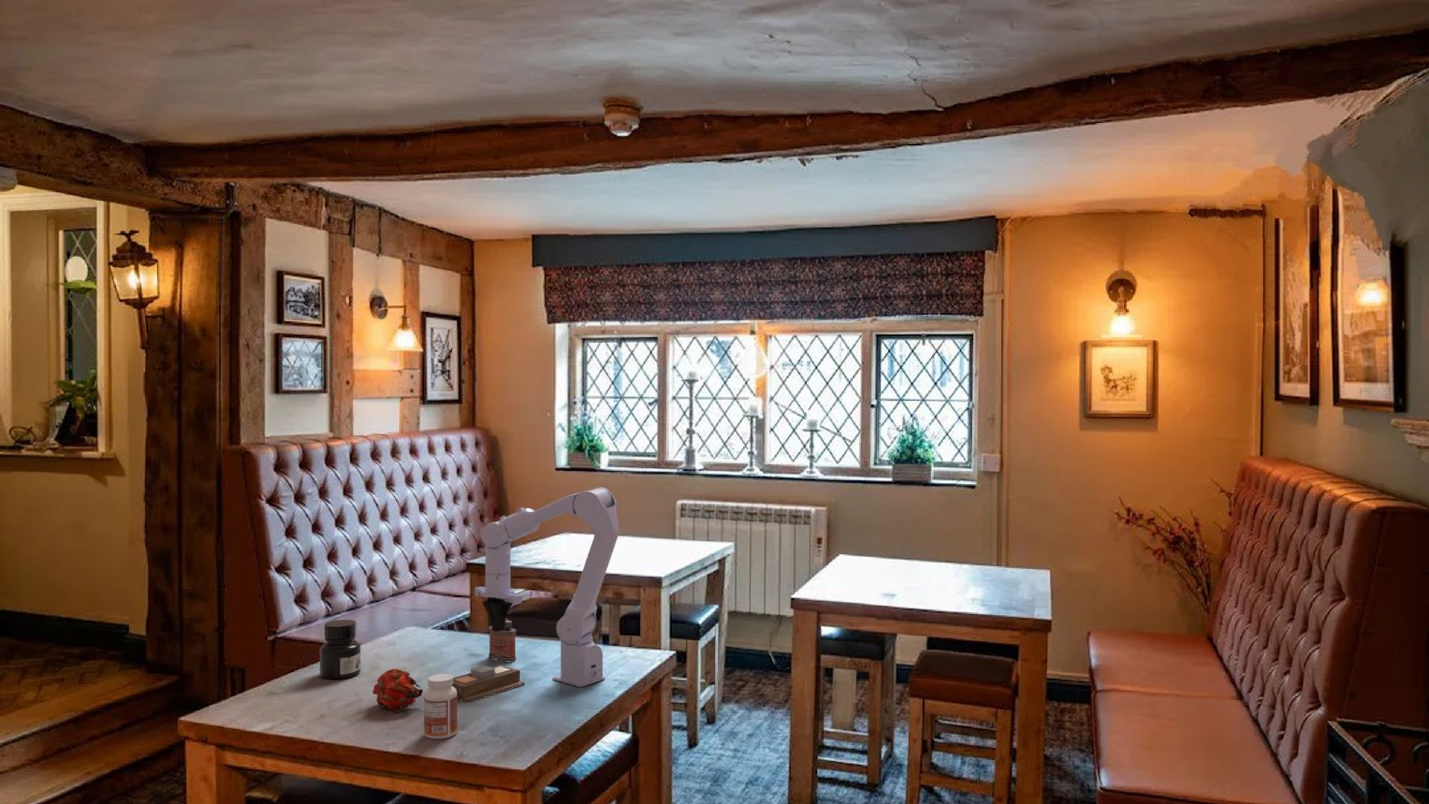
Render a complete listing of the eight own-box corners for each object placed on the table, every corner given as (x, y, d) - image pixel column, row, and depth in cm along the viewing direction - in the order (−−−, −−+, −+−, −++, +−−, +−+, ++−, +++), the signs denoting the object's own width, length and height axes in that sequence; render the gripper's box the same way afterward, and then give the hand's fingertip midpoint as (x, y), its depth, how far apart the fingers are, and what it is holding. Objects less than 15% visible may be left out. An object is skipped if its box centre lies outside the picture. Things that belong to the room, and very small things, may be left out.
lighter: (519, 659, 241) (519, 619, 240) (509, 663, 238) (509, 622, 238) (495, 654, 245) (495, 614, 245) (485, 658, 242) (485, 617, 242)
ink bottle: (351, 681, 223) (351, 628, 223) (312, 680, 223) (312, 628, 223) (367, 668, 233) (367, 618, 232) (330, 668, 233) (330, 617, 233)
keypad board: (524, 684, 221) (524, 671, 221) (468, 702, 209) (468, 688, 209) (495, 676, 227) (495, 663, 227) (440, 692, 215) (440, 679, 215)
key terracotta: (478, 689, 215) (478, 678, 215) (464, 693, 212) (464, 682, 212) (467, 686, 217) (467, 675, 217) (454, 690, 214) (454, 679, 214)
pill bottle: (446, 726, 194) (446, 670, 194) (463, 734, 190) (463, 677, 190) (417, 734, 190) (417, 677, 190) (435, 742, 186) (435, 684, 185)
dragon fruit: (383, 706, 210) (413, 728, 203) (355, 691, 205) (385, 713, 197) (406, 671, 213) (437, 690, 206) (379, 655, 208) (410, 675, 200)
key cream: (510, 680, 222) (510, 669, 222) (497, 683, 219) (497, 673, 219) (499, 676, 224) (499, 666, 224) (487, 680, 221) (487, 670, 221)
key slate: (494, 679, 218) (494, 668, 218) (481, 683, 215) (481, 672, 215) (484, 676, 220) (484, 665, 220) (471, 680, 218) (471, 669, 218)
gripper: (464, 571, 231) (464, 628, 231) (504, 579, 222) (504, 639, 222) (488, 566, 236) (488, 623, 237) (528, 574, 228) (528, 632, 228)
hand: (497, 630), depth 230 cm, fingers closed
